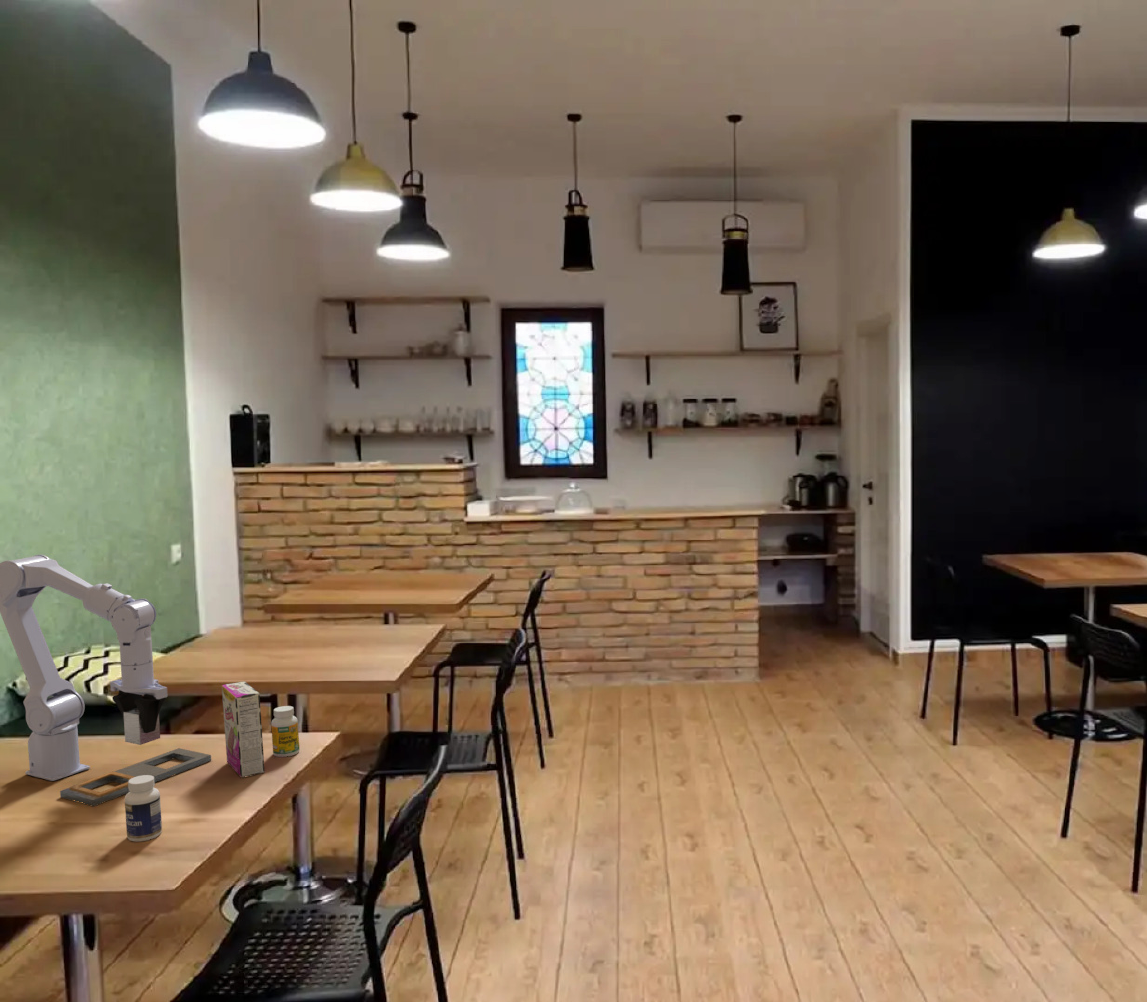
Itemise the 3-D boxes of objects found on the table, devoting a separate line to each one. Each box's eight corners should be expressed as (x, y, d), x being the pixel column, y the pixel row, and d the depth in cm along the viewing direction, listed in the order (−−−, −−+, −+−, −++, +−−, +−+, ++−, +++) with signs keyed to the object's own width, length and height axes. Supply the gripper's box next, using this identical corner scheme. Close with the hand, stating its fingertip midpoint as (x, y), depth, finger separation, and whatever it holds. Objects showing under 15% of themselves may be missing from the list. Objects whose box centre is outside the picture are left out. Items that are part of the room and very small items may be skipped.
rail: (60, 797, 176) (60, 789, 176) (179, 753, 198) (178, 746, 198) (93, 806, 171) (92, 798, 171) (211, 760, 193) (210, 753, 193)
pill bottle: (119, 841, 155) (115, 784, 155) (140, 828, 161) (136, 772, 160) (149, 843, 154) (145, 785, 154) (168, 829, 160) (165, 773, 159)
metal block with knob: (125, 741, 184) (123, 710, 184) (145, 735, 188) (143, 704, 188) (140, 744, 182) (138, 713, 182) (160, 738, 186) (158, 707, 186)
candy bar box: (225, 763, 192) (220, 684, 191) (250, 757, 195) (245, 680, 193) (239, 779, 183) (234, 696, 181) (265, 773, 185) (261, 691, 184)
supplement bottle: (295, 747, 200) (292, 703, 200) (302, 753, 196) (300, 709, 195) (269, 752, 197) (267, 707, 197) (277, 759, 193) (274, 713, 192)
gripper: (179, 661, 184) (183, 728, 185) (131, 654, 191) (135, 719, 192) (147, 669, 178) (151, 739, 179) (99, 662, 185) (103, 729, 186)
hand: (141, 730), depth 185 cm, fingers closed on metal block with knob, 4 cm apart
